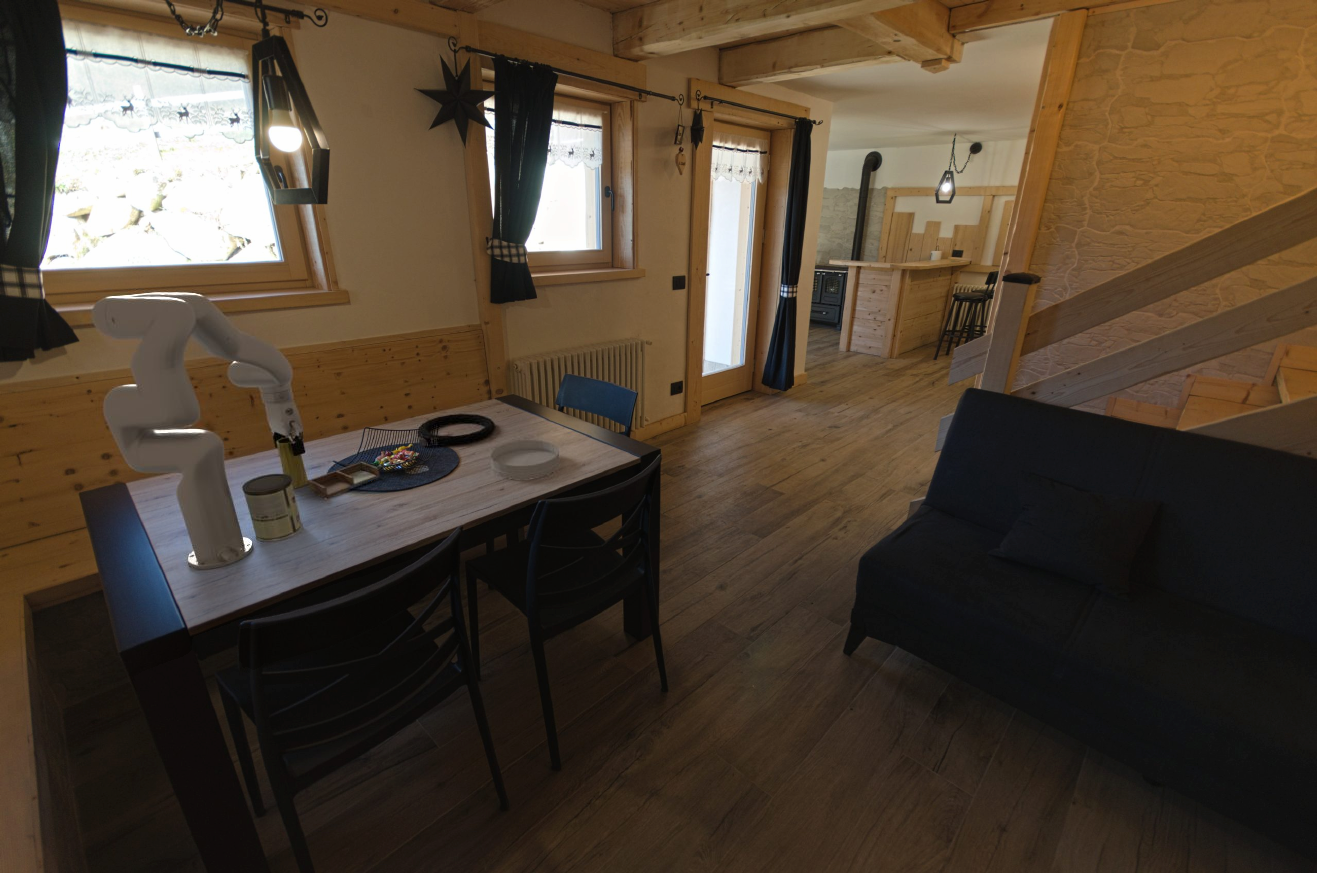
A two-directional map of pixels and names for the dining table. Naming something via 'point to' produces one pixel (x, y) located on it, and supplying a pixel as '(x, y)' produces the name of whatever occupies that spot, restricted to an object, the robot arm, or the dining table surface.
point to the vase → (292, 463)
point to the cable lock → (460, 439)
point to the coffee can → (272, 507)
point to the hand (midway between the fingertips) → (290, 450)
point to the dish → (525, 459)
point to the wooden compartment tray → (342, 479)
